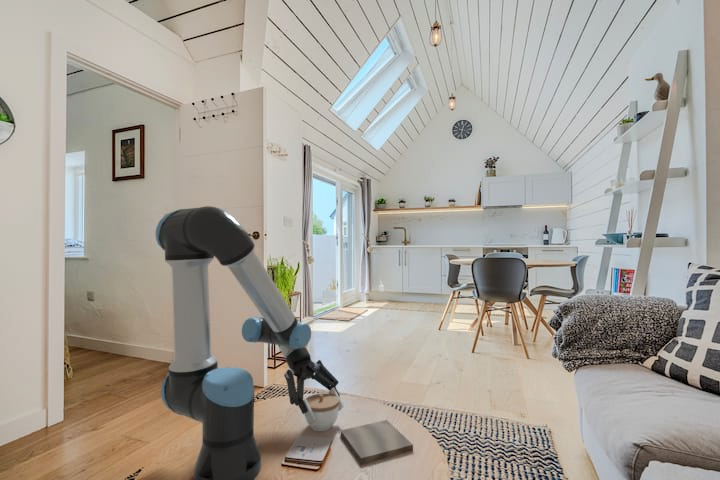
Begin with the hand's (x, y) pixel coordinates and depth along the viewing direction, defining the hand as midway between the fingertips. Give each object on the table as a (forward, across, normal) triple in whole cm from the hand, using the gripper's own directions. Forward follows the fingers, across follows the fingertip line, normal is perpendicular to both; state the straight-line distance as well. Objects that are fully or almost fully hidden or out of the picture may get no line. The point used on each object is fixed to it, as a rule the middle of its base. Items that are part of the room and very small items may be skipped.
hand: (327, 415), depth 104 cm
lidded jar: (+1, 0, -5) cm, 5 cm away
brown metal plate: (+14, -4, +8) cm, 16 cm away
